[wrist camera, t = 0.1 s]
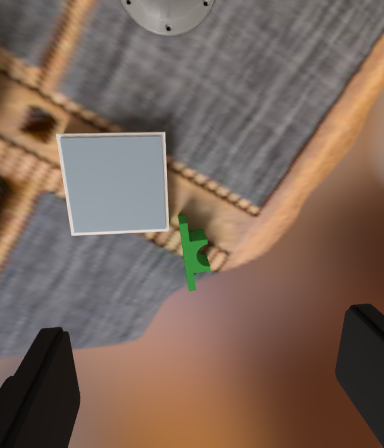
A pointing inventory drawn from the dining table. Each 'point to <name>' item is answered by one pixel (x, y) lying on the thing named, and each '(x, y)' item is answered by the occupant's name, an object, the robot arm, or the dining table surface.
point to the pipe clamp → (192, 251)
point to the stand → (115, 182)
